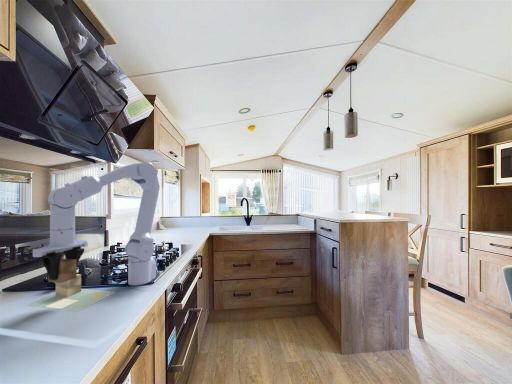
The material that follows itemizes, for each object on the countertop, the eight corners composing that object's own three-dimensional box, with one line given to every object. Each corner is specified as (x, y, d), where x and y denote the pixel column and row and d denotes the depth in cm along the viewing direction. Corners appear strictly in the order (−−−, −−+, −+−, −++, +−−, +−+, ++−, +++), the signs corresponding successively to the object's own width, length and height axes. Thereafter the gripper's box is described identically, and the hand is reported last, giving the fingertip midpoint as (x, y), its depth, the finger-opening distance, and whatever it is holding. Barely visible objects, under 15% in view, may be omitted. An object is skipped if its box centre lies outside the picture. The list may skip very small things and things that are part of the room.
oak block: (69, 290, 82) (69, 273, 82) (81, 291, 81) (81, 274, 81) (55, 295, 77) (55, 278, 77) (67, 296, 76) (67, 279, 76)
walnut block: (63, 276, 74) (64, 258, 74) (76, 277, 73) (76, 259, 73) (47, 281, 70) (48, 262, 70) (61, 283, 69) (61, 263, 69)
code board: (72, 291, 83) (72, 288, 83) (115, 295, 80) (115, 291, 80) (27, 309, 70) (28, 305, 70) (76, 314, 67) (76, 311, 67)
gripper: (74, 225, 80) (74, 268, 79) (23, 232, 65) (23, 284, 65) (93, 226, 78) (93, 269, 78) (44, 233, 64) (44, 286, 64)
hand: (62, 276), depth 71 cm, fingers closed on walnut block, 5 cm apart
